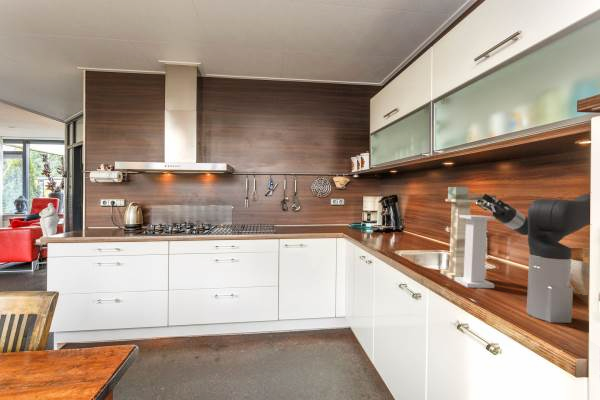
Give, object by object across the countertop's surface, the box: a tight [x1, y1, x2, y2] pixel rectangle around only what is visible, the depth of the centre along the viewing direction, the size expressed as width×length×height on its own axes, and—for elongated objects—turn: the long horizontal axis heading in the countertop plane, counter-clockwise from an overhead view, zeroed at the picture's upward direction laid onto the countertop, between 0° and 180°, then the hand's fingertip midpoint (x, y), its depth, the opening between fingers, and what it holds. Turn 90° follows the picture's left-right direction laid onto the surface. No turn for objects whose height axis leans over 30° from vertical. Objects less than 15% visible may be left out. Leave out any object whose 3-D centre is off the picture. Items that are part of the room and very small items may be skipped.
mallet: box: [447, 186, 497, 200], centre depth 128 cm, size 6×18×5 cm, turn 92°
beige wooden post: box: [440, 198, 478, 280], centre depth 129 cm, size 9×10×32 cm
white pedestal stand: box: [453, 214, 496, 289], centre depth 118 cm, size 9×10×26 cm
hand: (477, 195), depth 128 cm, fingers open, 8 cm apart
